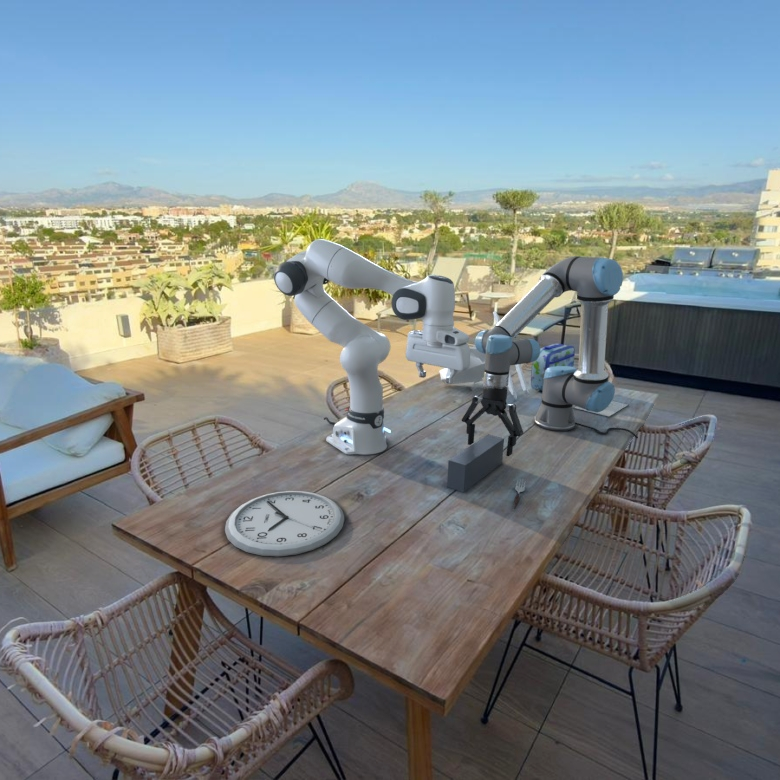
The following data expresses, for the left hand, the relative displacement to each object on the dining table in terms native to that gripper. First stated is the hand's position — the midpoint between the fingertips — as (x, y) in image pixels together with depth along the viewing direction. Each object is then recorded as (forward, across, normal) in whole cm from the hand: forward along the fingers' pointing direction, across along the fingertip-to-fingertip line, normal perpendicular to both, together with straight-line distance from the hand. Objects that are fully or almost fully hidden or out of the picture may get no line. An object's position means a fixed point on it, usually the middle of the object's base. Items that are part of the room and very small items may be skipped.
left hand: (435, 380), depth 154 cm
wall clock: (+30, -14, -47) cm, 58 cm away
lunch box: (+30, -4, +113) cm, 117 cm away
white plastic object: (+30, -28, +85) cm, 94 cm away
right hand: (+25, +11, +17) cm, 32 cm away
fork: (+30, +28, +2) cm, 41 cm away
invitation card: (+30, +23, +100) cm, 107 cm away
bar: (+30, +11, +8) cm, 33 cm away
